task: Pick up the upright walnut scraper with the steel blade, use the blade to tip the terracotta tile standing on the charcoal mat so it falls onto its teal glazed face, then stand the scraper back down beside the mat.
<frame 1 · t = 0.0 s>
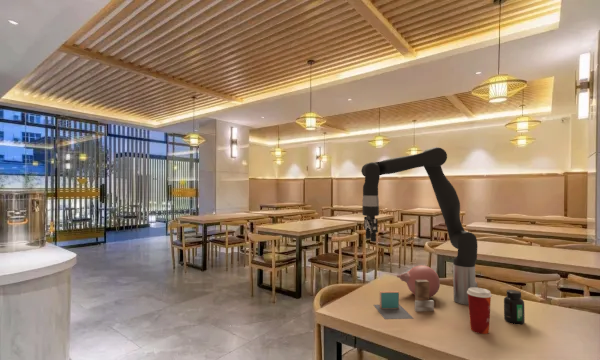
hand: (370, 240, 148), 29 cm above the table, tool pointing down, fingers open, 8 cm apart
mat: (392, 313, 136), on the table
pink rounded piece: (418, 297, 157), on the table
coffee cup: (479, 330, 119), on the table
supplement bottle: (514, 322, 128), on the table
tile: (389, 307, 140), point 1 cm above the table, touching mat
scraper: (422, 310, 139), on the table
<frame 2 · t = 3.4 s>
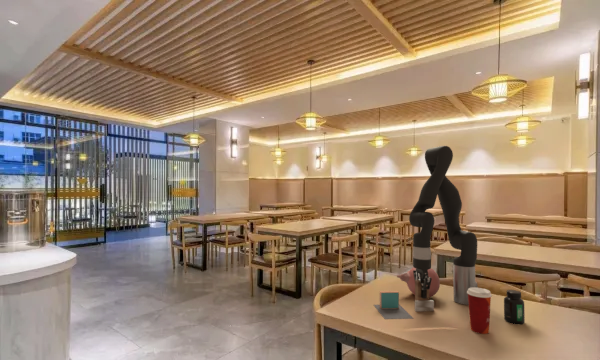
hand: (422, 296, 139), 6 cm above the table, tool pointing down, fingers closed on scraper, 3 cm apart
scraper: (422, 310, 139), on the table, touching gripper
everything else where it was.
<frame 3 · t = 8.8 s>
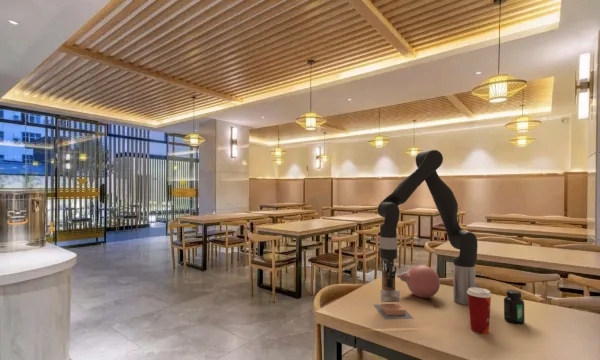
hand: (388, 286, 141), 10 cm above the table, tool pointing down, fingers closed on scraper, 3 cm apart
tile: (390, 306, 139), point 2 cm above the table, tilted 90°, touching mat
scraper: (388, 300, 141), point 4 cm above the table, touching gripper
everything else where it was.
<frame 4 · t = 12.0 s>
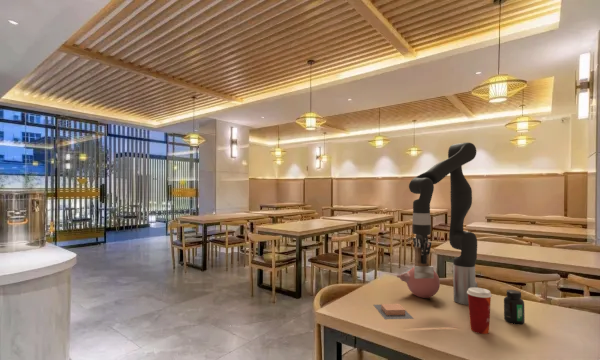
hand: (422, 262, 139), 21 cm above the table, tool pointing down, fingers closed on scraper, 3 cm apart
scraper: (422, 276, 139), point 15 cm above the table, touching gripper
everything else where it was.
when the fingers open (7 cm above the table, at t = 14.9 s): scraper stays where it is, on the table.
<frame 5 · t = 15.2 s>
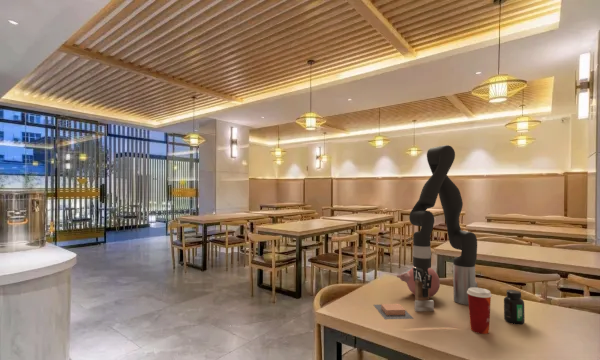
hand: (422, 294, 139), 7 cm above the table, tool pointing down, fingers open, 5 cm apart
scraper: (422, 310, 139), on the table
everything else where it was.
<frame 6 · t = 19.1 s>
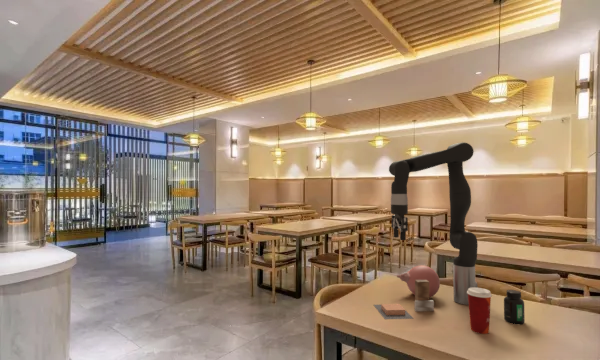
hand: (399, 238, 147), 30 cm above the table, tool pointing down, fingers open, 8 cm apart
nothing on the table moved.
at the end: tile tilted 90°; tile inside the target area (2.9 cm from its centre), point 1.8 cm above the table; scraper inside the target area (0.0 cm from its centre), on the table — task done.
